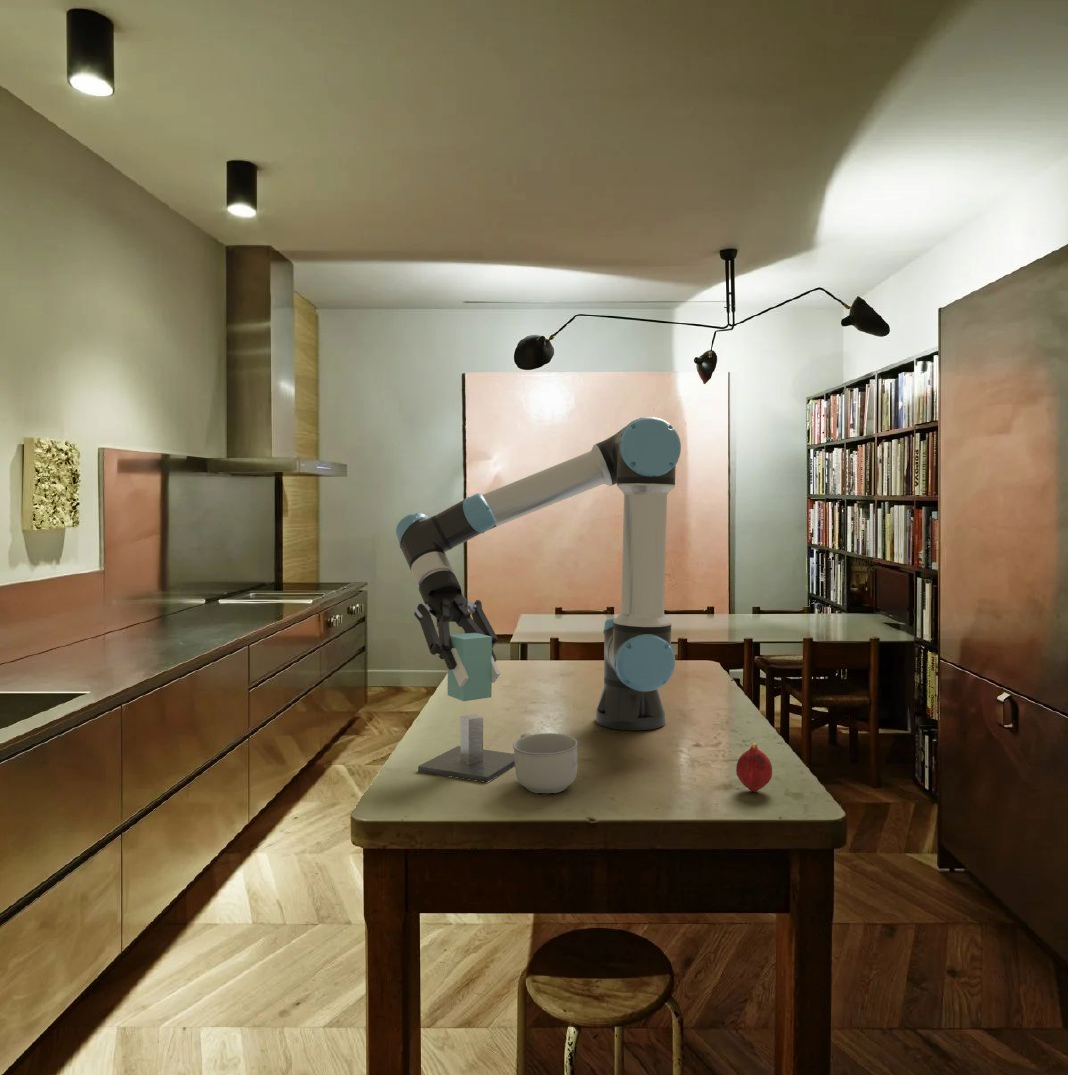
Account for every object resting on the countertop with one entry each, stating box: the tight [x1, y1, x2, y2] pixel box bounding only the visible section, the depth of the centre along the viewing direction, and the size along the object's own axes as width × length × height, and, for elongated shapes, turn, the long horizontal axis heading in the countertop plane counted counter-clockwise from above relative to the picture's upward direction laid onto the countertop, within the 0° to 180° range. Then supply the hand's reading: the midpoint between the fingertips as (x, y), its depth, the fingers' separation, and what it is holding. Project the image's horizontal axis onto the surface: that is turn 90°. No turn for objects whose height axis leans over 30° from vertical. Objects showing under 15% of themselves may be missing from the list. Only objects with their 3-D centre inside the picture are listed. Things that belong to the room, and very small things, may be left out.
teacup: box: [512, 732, 579, 794], centre depth 142 cm, size 14×11×8 cm
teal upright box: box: [447, 632, 493, 702], centre depth 152 cm, size 6×6×11 cm
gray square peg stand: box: [417, 713, 515, 783], centre depth 153 cm, size 14×14×9 cm
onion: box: [735, 742, 773, 793], centre depth 139 cm, size 6×6×8 cm
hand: (480, 680), depth 149 cm, fingers closed on teal upright box, 6 cm apart
